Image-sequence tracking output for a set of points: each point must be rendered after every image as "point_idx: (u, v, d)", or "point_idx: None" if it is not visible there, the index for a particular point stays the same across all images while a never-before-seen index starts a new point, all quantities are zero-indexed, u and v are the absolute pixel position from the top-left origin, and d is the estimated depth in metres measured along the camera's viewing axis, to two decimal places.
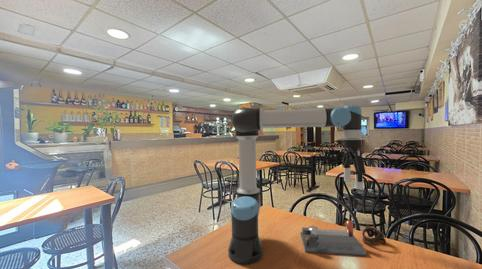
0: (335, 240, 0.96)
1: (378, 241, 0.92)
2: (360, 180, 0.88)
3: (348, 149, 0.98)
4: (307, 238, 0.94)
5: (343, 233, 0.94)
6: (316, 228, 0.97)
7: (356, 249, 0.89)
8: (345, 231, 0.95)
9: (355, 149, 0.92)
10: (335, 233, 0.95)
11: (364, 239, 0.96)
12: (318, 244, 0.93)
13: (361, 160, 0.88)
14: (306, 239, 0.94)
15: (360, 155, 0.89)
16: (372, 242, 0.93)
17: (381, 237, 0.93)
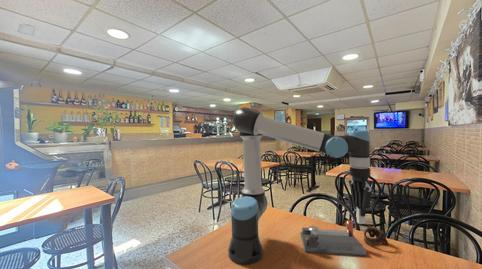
0: (335, 240, 0.96)
1: (380, 241, 0.92)
2: (363, 215, 0.85)
3: None
4: (307, 238, 0.94)
5: (343, 233, 0.94)
6: (316, 228, 0.97)
7: (356, 249, 0.89)
8: (345, 231, 0.95)
9: (365, 179, 0.83)
10: (335, 233, 0.95)
11: (366, 239, 0.96)
12: (318, 244, 0.93)
13: (369, 196, 0.82)
14: (306, 239, 0.94)
15: (370, 192, 0.81)
16: (374, 243, 0.93)
17: (383, 237, 0.93)
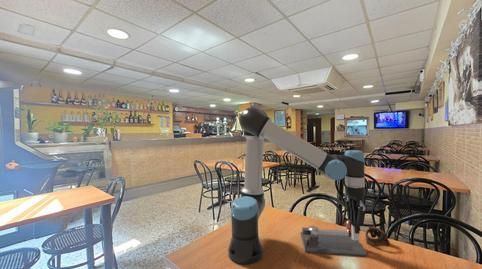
0: (335, 240, 0.96)
1: (382, 242, 0.92)
2: (357, 232, 0.89)
3: None
4: (307, 238, 0.94)
5: (343, 233, 0.94)
6: (316, 228, 0.97)
7: (356, 249, 0.89)
8: (345, 231, 0.95)
9: (360, 198, 0.87)
10: (335, 233, 0.95)
11: (367, 240, 0.96)
12: (318, 244, 0.93)
13: (363, 215, 0.86)
14: (306, 239, 0.94)
15: (364, 210, 0.85)
16: (376, 243, 0.93)
17: (384, 238, 0.93)
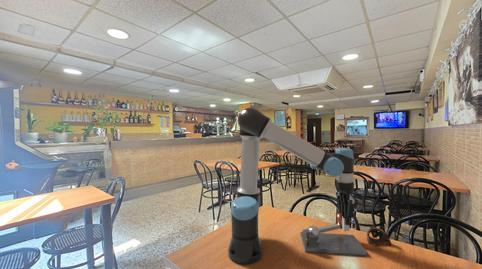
0: (335, 240, 0.96)
1: (383, 242, 0.92)
2: (348, 223, 0.96)
3: None
4: (307, 238, 0.94)
5: (337, 227, 1.00)
6: (316, 227, 0.97)
7: (356, 249, 0.89)
8: (337, 224, 1.02)
9: (349, 192, 0.94)
10: (331, 228, 0.99)
11: (369, 240, 0.96)
12: (318, 244, 0.93)
13: (353, 208, 0.93)
14: (306, 239, 0.94)
15: (353, 203, 0.93)
16: (378, 243, 0.92)
17: (386, 238, 0.92)
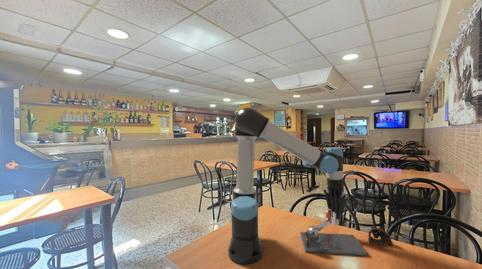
0: (335, 240, 0.96)
1: (385, 242, 0.91)
2: (338, 218, 1.03)
3: (329, 185, 1.06)
4: (307, 238, 0.94)
5: (328, 222, 1.05)
6: (315, 227, 0.98)
7: (356, 249, 0.89)
8: (327, 220, 1.07)
9: (341, 188, 1.01)
10: (324, 225, 1.03)
11: (370, 240, 0.95)
12: (318, 244, 0.93)
13: (345, 202, 1.00)
14: (306, 239, 0.94)
15: (346, 198, 1.00)
16: (379, 244, 0.92)
17: (388, 238, 0.92)
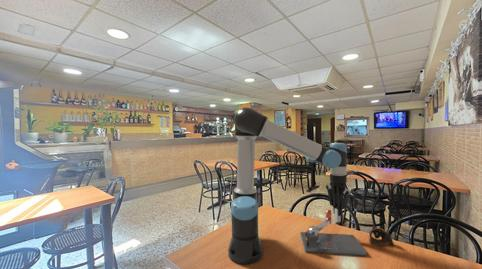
0: (335, 240, 0.96)
1: (386, 242, 0.91)
2: (341, 214, 1.01)
3: (332, 181, 1.04)
4: (307, 238, 0.94)
5: (328, 222, 1.05)
6: (315, 227, 0.98)
7: (356, 249, 0.89)
8: (327, 220, 1.07)
9: (344, 184, 0.99)
10: (324, 225, 1.03)
11: (371, 240, 0.95)
12: (318, 244, 0.93)
13: (347, 199, 0.99)
14: (306, 239, 0.94)
15: (349, 194, 0.98)
16: (380, 244, 0.92)
17: (389, 238, 0.92)
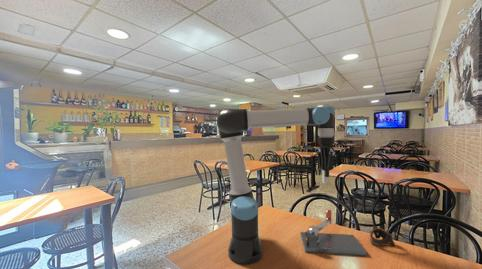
0: (335, 240, 0.96)
1: (387, 242, 0.91)
2: (327, 175, 1.04)
3: (320, 144, 1.08)
4: (307, 238, 0.94)
5: (328, 222, 1.05)
6: (315, 227, 0.98)
7: (356, 249, 0.89)
8: (327, 220, 1.07)
9: (330, 145, 1.02)
10: (324, 225, 1.03)
11: (372, 241, 0.95)
12: (318, 244, 0.93)
13: (333, 159, 1.01)
14: (306, 239, 0.94)
15: (333, 155, 1.01)
16: (381, 244, 0.92)
17: (390, 238, 0.92)
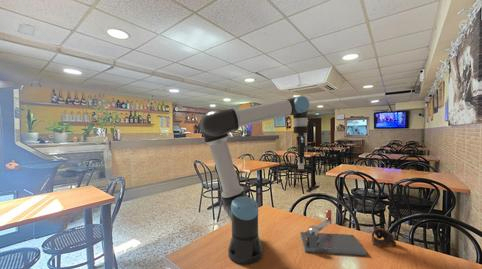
0: (335, 240, 0.96)
1: (389, 243, 0.91)
2: (301, 162, 1.12)
3: None
4: (307, 238, 0.94)
5: (328, 222, 1.05)
6: (315, 227, 0.98)
7: (356, 249, 0.89)
8: (327, 220, 1.07)
9: (301, 134, 1.10)
10: (324, 225, 1.03)
11: (374, 241, 0.95)
12: (318, 244, 0.93)
13: (303, 146, 1.09)
14: (306, 239, 0.94)
15: (303, 143, 1.08)
16: (383, 244, 0.91)
17: (391, 239, 0.92)
